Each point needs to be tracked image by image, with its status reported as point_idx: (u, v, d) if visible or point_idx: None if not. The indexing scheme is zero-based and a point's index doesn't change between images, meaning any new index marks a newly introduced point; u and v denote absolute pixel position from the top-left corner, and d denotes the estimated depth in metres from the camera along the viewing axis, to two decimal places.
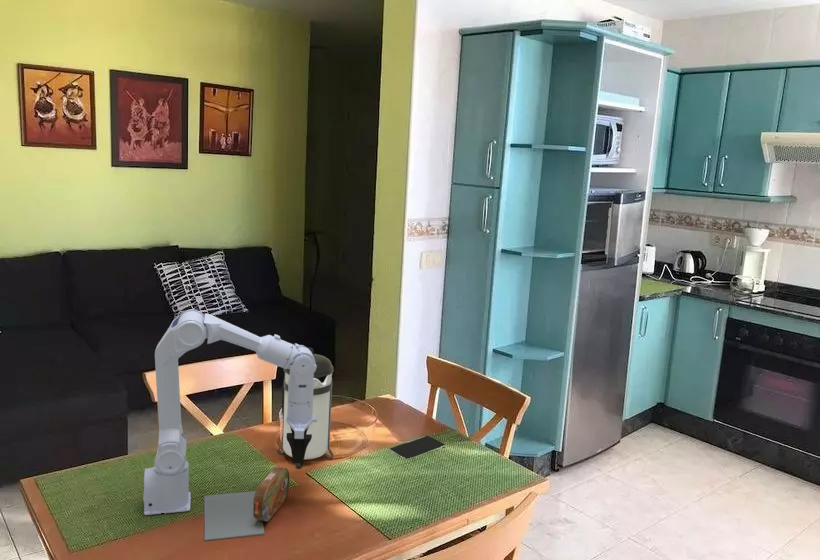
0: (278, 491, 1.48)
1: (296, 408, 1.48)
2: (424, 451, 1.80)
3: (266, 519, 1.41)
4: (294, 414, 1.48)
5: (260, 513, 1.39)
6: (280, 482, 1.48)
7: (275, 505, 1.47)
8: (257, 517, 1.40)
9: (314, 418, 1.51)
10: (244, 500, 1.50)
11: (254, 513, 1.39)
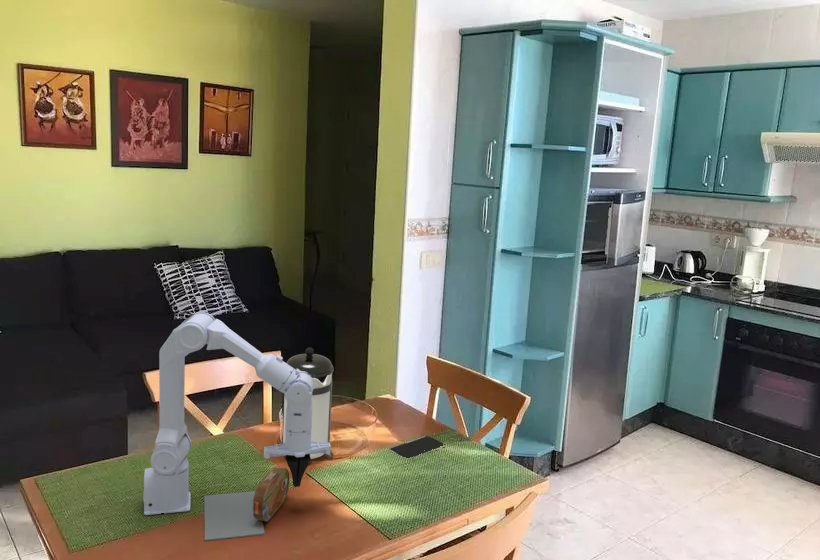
0: (278, 491, 1.48)
1: None
2: (424, 451, 1.80)
3: (266, 519, 1.41)
4: None
5: (260, 513, 1.39)
6: (280, 482, 1.48)
7: (275, 505, 1.47)
8: (257, 517, 1.40)
9: (298, 453, 1.42)
10: (244, 500, 1.50)
11: (254, 513, 1.39)
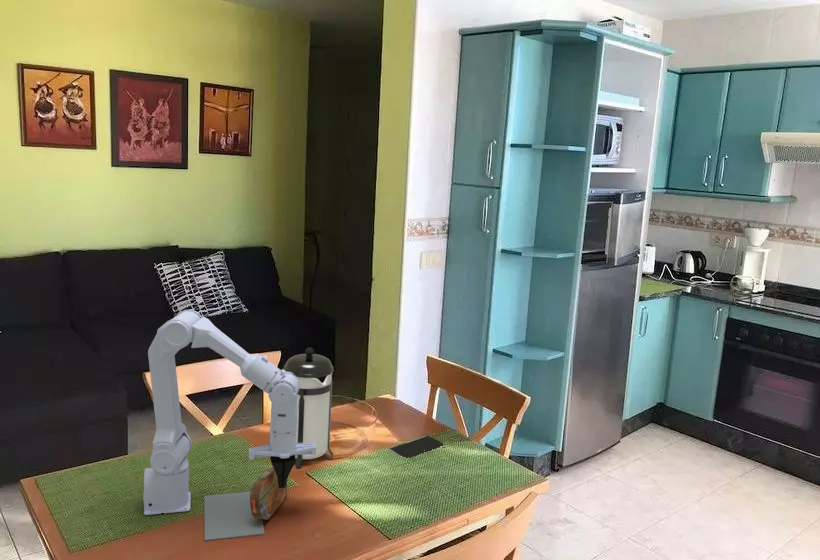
0: (276, 490, 1.48)
1: None
2: (424, 451, 1.80)
3: (265, 517, 1.41)
4: None
5: (258, 511, 1.39)
6: (277, 480, 1.49)
7: (275, 504, 1.47)
8: (256, 516, 1.40)
9: (282, 454, 1.41)
10: (244, 500, 1.50)
11: (252, 512, 1.39)
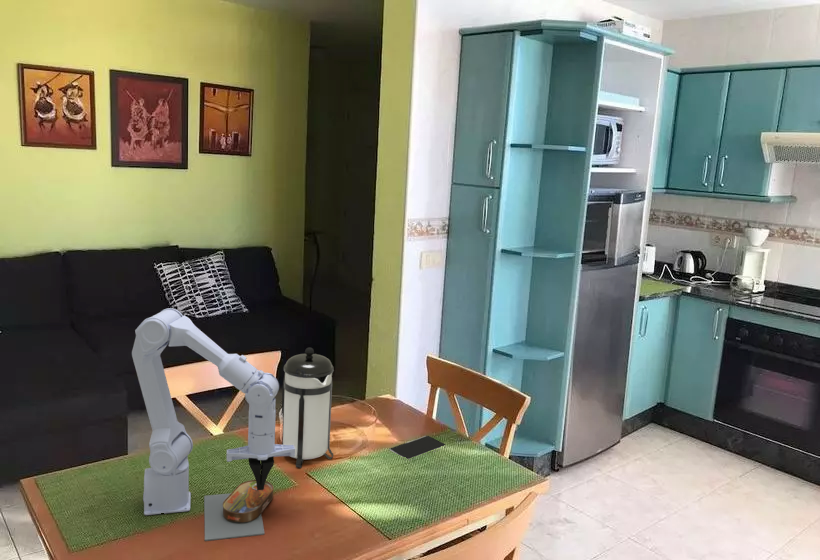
0: (254, 492, 1.49)
1: None
2: (424, 451, 1.80)
3: (253, 510, 1.42)
4: None
5: (237, 515, 1.40)
6: (248, 489, 1.50)
7: (262, 498, 1.47)
8: (244, 518, 1.41)
9: (260, 456, 1.40)
10: None
11: (239, 521, 1.40)
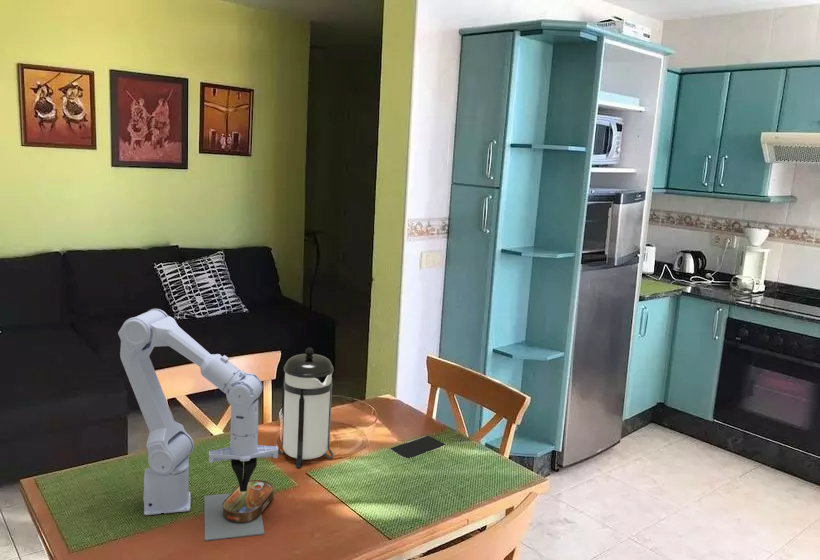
0: (254, 492, 1.49)
1: None
2: (424, 451, 1.80)
3: (253, 510, 1.42)
4: None
5: (237, 515, 1.40)
6: (248, 489, 1.50)
7: (262, 498, 1.47)
8: (244, 518, 1.41)
9: (242, 457, 1.39)
10: None
11: (239, 521, 1.40)
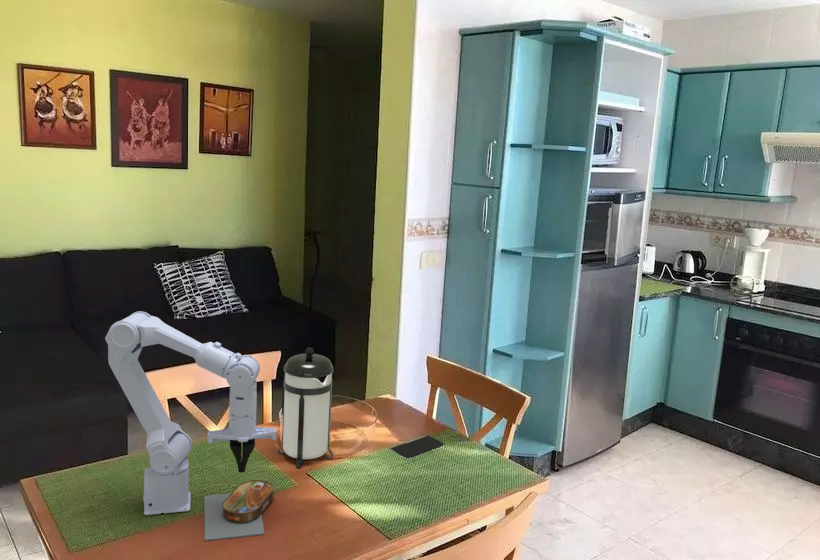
0: (254, 492, 1.49)
1: None
2: (424, 451, 1.80)
3: (253, 510, 1.42)
4: None
5: (237, 515, 1.40)
6: (248, 489, 1.50)
7: (262, 498, 1.47)
8: (244, 518, 1.41)
9: (241, 437, 1.40)
10: None
11: (239, 521, 1.40)
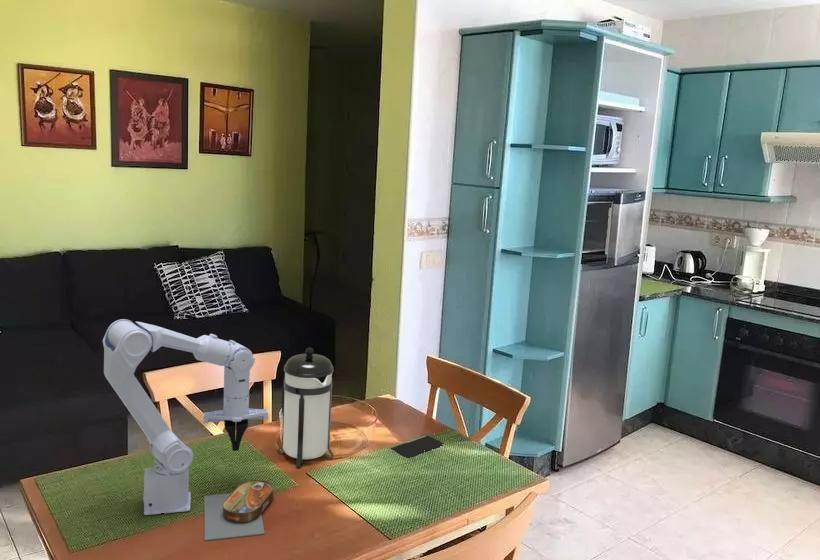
0: (254, 492, 1.49)
1: None
2: (425, 451, 1.81)
3: (253, 510, 1.42)
4: None
5: (237, 515, 1.40)
6: (248, 489, 1.50)
7: (262, 498, 1.47)
8: (244, 518, 1.41)
9: (235, 418, 1.50)
10: None
11: (239, 521, 1.40)
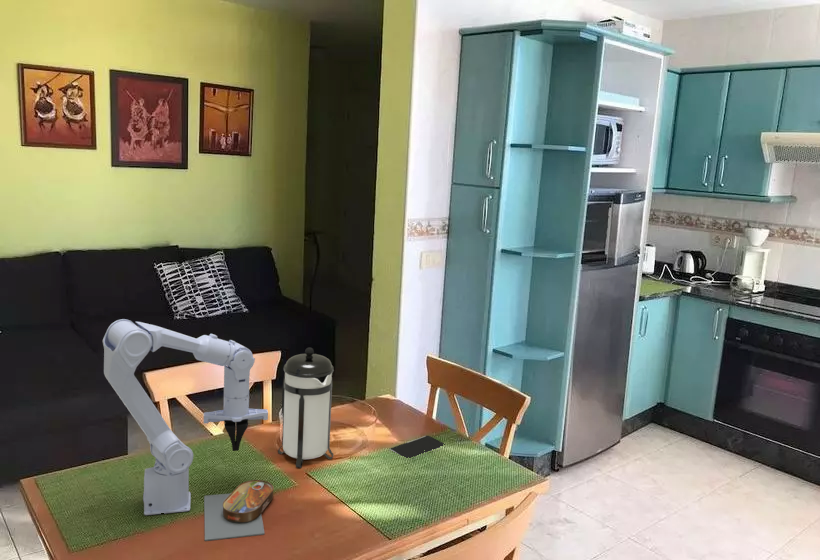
0: (254, 492, 1.49)
1: None
2: (425, 451, 1.81)
3: (253, 510, 1.42)
4: None
5: (237, 515, 1.40)
6: (248, 489, 1.50)
7: (262, 498, 1.47)
8: (244, 518, 1.41)
9: (235, 418, 1.50)
10: None
11: (239, 521, 1.40)
